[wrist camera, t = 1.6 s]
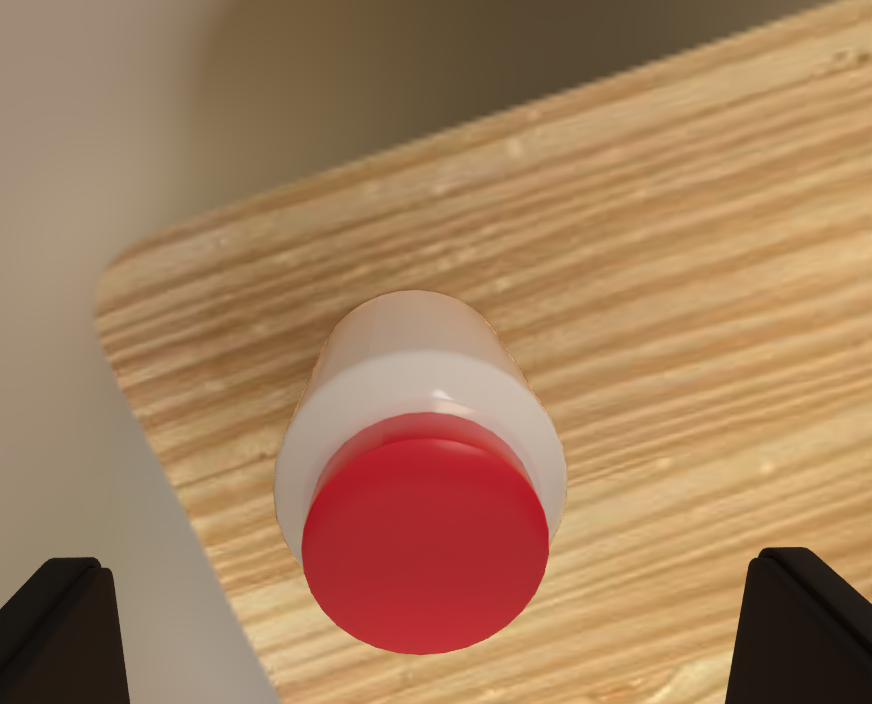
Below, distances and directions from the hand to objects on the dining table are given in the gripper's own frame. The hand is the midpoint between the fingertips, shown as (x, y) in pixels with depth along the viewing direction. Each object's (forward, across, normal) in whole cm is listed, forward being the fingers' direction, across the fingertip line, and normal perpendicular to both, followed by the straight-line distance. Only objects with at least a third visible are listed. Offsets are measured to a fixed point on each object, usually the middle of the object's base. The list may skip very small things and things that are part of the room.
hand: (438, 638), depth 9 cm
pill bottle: (+10, 0, -1) cm, 10 cm away
